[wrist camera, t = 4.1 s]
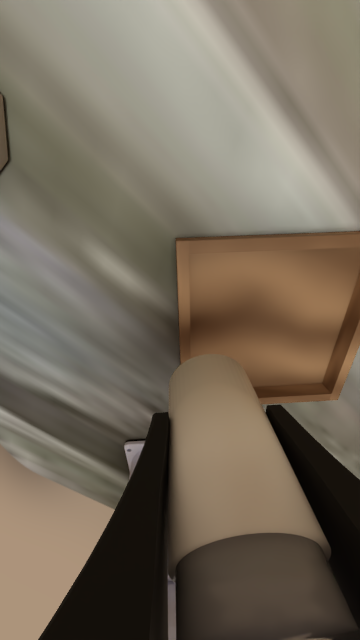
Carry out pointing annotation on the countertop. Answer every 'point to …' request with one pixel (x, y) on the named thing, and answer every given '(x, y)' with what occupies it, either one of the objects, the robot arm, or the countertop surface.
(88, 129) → the countertop surface
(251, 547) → the pepper shaker
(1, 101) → the flask
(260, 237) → the tray
